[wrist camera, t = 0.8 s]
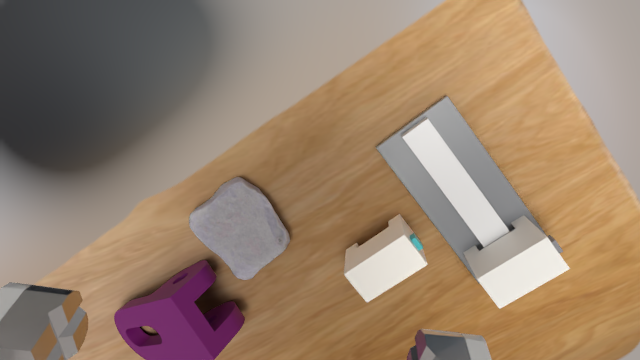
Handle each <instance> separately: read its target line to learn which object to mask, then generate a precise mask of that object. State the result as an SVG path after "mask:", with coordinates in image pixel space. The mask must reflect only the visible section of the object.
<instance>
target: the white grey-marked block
mask: <svg viewBox="0 0 640 360" xmlns="http://www.w3.org/2000/svg"><path fill="white" fill-rule="evenodd" d="M511 224H512V225H513V227H514V228H515V229H514V230H513V231H511V232H509V233H508V234H506V235H505V236H503V237H501V238H500V239H498V240H496V241H495V242H493V243H491V244H490V245H488V246H487V247H485V248H483V249H482V250H480V251H479V250H478V248H477V247H476V246H475V245H474V246H473V247H471V248H470V249H468V250H466V251H465V252H463V254H464V255H465V257H466V259H467V261H468V263H469V265H470V267H471V269H472V271H473V272H474V274H475V276H476V278H477V280H478V281H479V282H480V284H481V285H482V286H483V288H484V289H485V290H486V292H487V293H488V294H489V296H490V297H491V298H492V300H493V301H494V302H495V304H496V305H497V306H498V307H499V309H500V308H502V307H504V306H506V305H507V304H509V303H511V302H513V301H514V300H516V299H518V298H520V297H521V296H523V295H525V294H527V293H528V292H530V291H532V290H534V289H535V288H537V287H539V286H541V285H542V284H544V283H546V282H548V281H549V280H551V279H553V278H555V277H556V276H558V275H560V274H562V273H563V272H565V271H567V270H569V269H570V268H569V267H568V265H567V264H566V263H565V261H564V260H563V258H562V257H561V256H560V254H559V253H561V252H563V250H562V249H561V247H560V246H559V245H558V243H557V242H556V240H555V239H554V238H552V237H551V236H550V235H549V236H548V237H547V236H546V235H545V234H544V233H543V232H541V231H540V230H539V229H538V228H537V227H536V226H535V225H534V224H533V223H532V222H531V221H530V220H529V219H528V218H527V217H526V216H524V215H523V216H521V217H520V218H518V219H516V220H515V221H513V222H511Z"/></svg>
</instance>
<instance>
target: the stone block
mask: <svg viewBox="0 0 640 360" xmlns="http://www.w3.org/2000/svg"><path fill="white" fill-rule="evenodd" d="M189 225H190V228H191V230H192V231H193V232H194V234H195V235H196V236H197V237H198V238H199V240H200V241H202V242H203V243H204V244H205V245H206V246H207V247H208V248H209V249H210V250H212V251H213V252H215V253H216V254H217V255H218V256H220V257H221V258H222V259H223V260H224V262H225V263H226V264H227V265H228V266H229V267H230V269H231V271H232V273H233V274H234V275H235V276H236V277H237V278H238V279H242V280H248V279H251V278H253V277H254V275H255V274H257V272H258V271H259V270H260V269H261V268H263V267H264V266H265V265H267V264H268V263H269V262H271V261H272V260H273V259H274V258H275V257H277V256H278V255H280V254H281V253H282V252H283V251H284V250H285V249H286V248H287V245H288V243H289V242H290V237H289V233H288V231H287V230H286V228H285V227H284V225H283V224H282V222H281V221H280V219H279V217H278V215H277V214H276V213H275V211H274V209H273V207H272V205H271V204H270V202H269V201H268V199H267V198H266V196H264V195H263V194H262V192H261V191H260V189H259V188H257V187H256V186H254V185H252V184H250V183H249V182H247V181H246V180H244V179H242V178H241V177H235V178H233V179H231V180H230V181H228V182H225V183H224V184H222V185H221V186H220V188H219V189H218V190H217V192H215V194H214V195H213V197H212V198H211V199H209V200H207V201H206V202H205V203H204V204H202V205H201V206H199V207H197V208H196V209H195V210H194V211H193V212H192V213H191V214H190V217H189Z"/></svg>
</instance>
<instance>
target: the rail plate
mask: <svg viewBox="0 0 640 360" xmlns="http://www.w3.org/2000/svg"><path fill="white" fill-rule="evenodd" d="M376 149H377V150H378V151H379V153H380V154H381V155H382V157H383V158H384V159H385V161H386V162H387V163H388V164H389V166H390V167H391V168H392V170H393V171H394V172H395V174H396V175H397V176H398V178H399V179H400V180H401V182H402V183H403V184H404V186H405V187H406V188H407V189H408V191H409V192H410V193H411V195H412V196H413V197H414V199H415V200H416V201H417V203H418V204H419V205H420V207H421V208H422V209H423V211H424V212H425V213H426V215H427V216H428V217H429V218H430V220H431V221H432V222H433V224H434V225H435V226H436V228H437V229H438V230H439V232H440V233H441V234H442V236H443V237H444V238H445V240H446V241H447V242H448V243H449V245H450V246H451V247H452V249H453V250H454V251H455V253H456V254H457V255H458V257H459V258H460V259H461V261H462V262H463V263H464V265H465V266H466V267H467V269H468V270H469V271H470V272H471V274H472V275H473V276H474V278H475V279H476V280H477V278H476V276H475V274H474V272H473V271H472V269H471V267H470V265H469V263H468V261H467V259H466V257H465V255H464V254H463V252H465V251H466V250H468V249H470V248H471V247H473V246H474V245H475V246H476V247H477V248H478V250H479V251H480V250H482V249H483V248H485V247H487V246H488V245H490V244H491V243H493V242H495V241H496V240H498V239H500V238H501V237H503V236H505V235H506V234H508V233H509V232H511V231H513V230H514V229H515V228H514V227H513V225H512V224H511V222H513V221H515V220H516V219H518V218H520V217H521V216H523V215H524V216H526V217H527V218H528V219H529V220H530V221H531V222H532V223H533V224H534V225H535V226H536V227H537V228H538V229H539V230H540V231H541V232H543V233H544V231H543V230H542V228H541V227H540V226H539V224H538V223H537V221H536V220H535V219H534V217H533V216H532V214H531V213H530V212H529V210H528V209H527V207H526V206H525V205H524V203H523V202H522V200H521V199H520V198H519V196H518V195H517V193H516V192H515V190H514V189H513V188H512V186H511V185H510V183H509V182H508V181H507V179H506V178H505V176H504V175H503V174H502V172H501V171H500V169H499V168H498V167H497V165H496V164H495V162H494V161H493V159H492V158H491V157H490V155H489V154H488V152H487V151H486V150H485V148H484V147H483V145H482V144H481V143H480V141H479V140H478V138H477V137H476V136H475V134H474V133H473V131H472V130H471V129H470V127H469V126H468V124H467V123H466V121H465V120H464V119H463V117H462V116H461V114H460V113H459V112H458V110H457V109H456V107H455V106H454V105H453V103H452V102H451V100H450V99H449V98H448V96H444V97H443V98H442V99H440V100H439V101H438V102H436V103H435V104H433V105H432V106H431V107H429V108H428V109H427V110H425V111H424V112H423V113H421V114H420V115H418V116H417V117H416V118H414V119H413V120H412V121H410V122H409V123H407V124H406V125H405V126H403V127H402V128H401V129H399V130H398V131H397V132H395V133H394V134H392V135H391V136H390V137H388V138H387V139H386V140H384V141H383V142H382V143H380V144H379V145H377V146H376ZM544 234H545V233H544ZM545 235H546V234H545ZM477 282H478V283H480V282H479V281H478V280H477Z"/></svg>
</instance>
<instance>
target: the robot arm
mask: <svg viewBox="0 0 640 360" xmlns="http://www.w3.org/2000/svg"><path fill="white" fill-rule="evenodd" d="M81 302H82V297H81V295H80V292H79V291H74V290H66V289H59V288H51V287H43V286H36V285H28V284H20V283H12V282H10V283H8V284H7V285H5V286H3V287H2V288H1V289H0V360H67V359H69V358H70V357H72V356H73V355H75V354H76V353H77V352H78V351H79V349H80V348H81V346H82V344H83V342H84V340H85V336H86V333H87V330H88V317H87V313H86V312H85V311H84V310H83V309H81V308H80V307H79V305H80V304H81ZM415 341H416V345H415V346H413V347H412V348H410V350H409V353H408V356H407V360H492V359H491V356H490V353H489V350H488V347H487V344H486V341H485V339H484V338H483V337H482V336H480V335H472V334H460V333H458V332H448V331H438V330H427V329H420V330H419V331H418V332H417V334H416V336H415Z"/></svg>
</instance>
